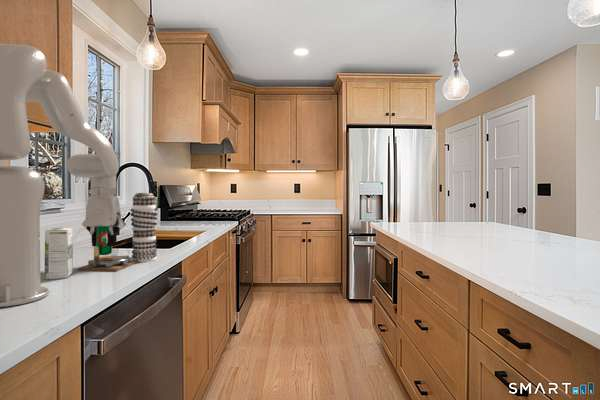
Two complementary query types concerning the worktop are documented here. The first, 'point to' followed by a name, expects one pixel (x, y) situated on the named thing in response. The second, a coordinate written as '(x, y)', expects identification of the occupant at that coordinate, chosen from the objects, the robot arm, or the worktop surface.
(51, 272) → the syrup box
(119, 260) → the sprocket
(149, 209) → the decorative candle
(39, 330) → the worktop surface
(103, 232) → the soda can
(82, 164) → the robot arm
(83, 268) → the base board
